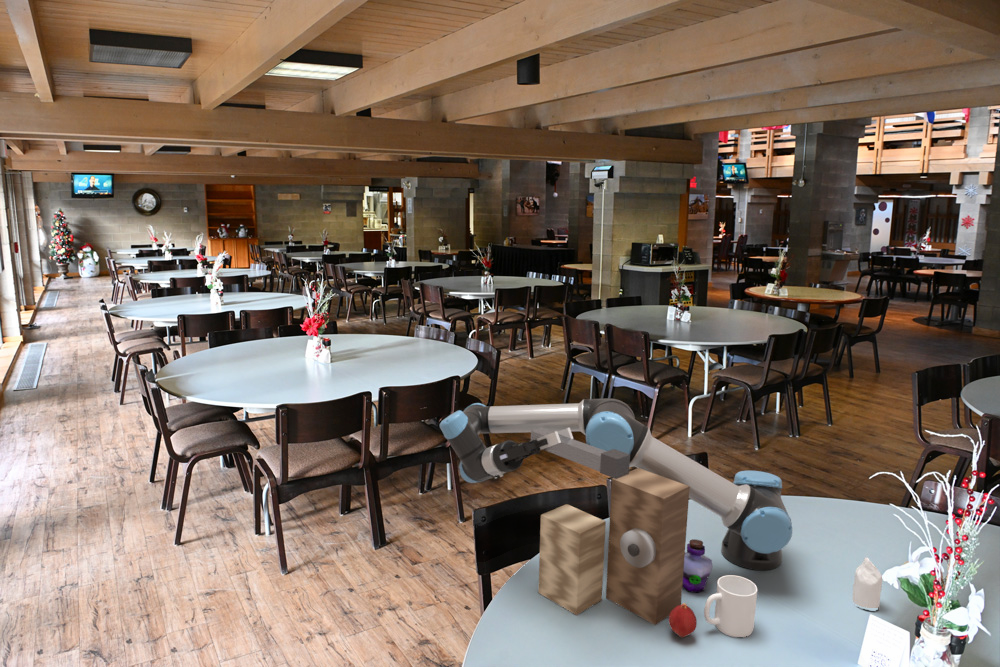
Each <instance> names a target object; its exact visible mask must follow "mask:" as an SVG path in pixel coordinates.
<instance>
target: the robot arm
mask: <svg viewBox="0 0 1000 667" xmlns="http://www.w3.org/2000/svg"><path fill="white" fill-rule="evenodd" d="M635 418H636V417H635V414H634V411H633V410H632V409H631V407H630V406H629V404H627V403H625V402H623V401H622V400H619V399H616V398H589V399H588V398H587V399H585V398H583V399H582V400H581V401H580V402H579V403H558V404H557V403H554V404H553V403H552V404H551V403H550V404H547V403H546V404H529V405H528V404H523V405H522V404H521V405H519V404H518V405H500V406H499V405H495V406H491V405H490V406H489V405H488V406H487V405H485V404H483V403H480V402H475V403H472V404H470V405H468V406H467V407H466V408H464V410H463V411H462V410H460V409H459V410H456V411H455V412H453V413H451V414H449V415H448V416H447V417H445V418H444V419H443V420H441V422H440V423H439V429H440V430H441V431H442V434H443V437H444V438H445V439H446V440H447V442H448V443H449V445H450V446H451V448H452V449H453V451H454V452H455V454H456V456H458V458H459V460H460V462H459V465H458V468H459V474H460V476H461V478H462V479H463V480H464V481H465V482H467V483H469V484H476V483H482V482H485V481H487V480H490V479H492V478H495V477H498V476H499V477H500V478H502V477H504V474H506V473H510V472H513V471H515V470H518V469H519V468H521V466H522V464H523V462H524V460H526V459H528V458H530V457H531V456H533V455H537V454H540V453H541V451H542V450H543V449H545V448H547V447H550V446H553V445H556V444H558V443H561V441H560V438H559V435H558V434H560V435H563V436H565V437H568V438H571V439H574V436H573V433H572V432H581V433H582V434H583V435H584V436H585V442H586V443H585V444H588V445H591V446H593V447H596V448H599V449H602V450H605V451H609V450H612V449H616V450H618V451H621V452H624V453H627V454H630V465H629V469H630V468H633V467H634V468H636V469H637V468H640V469H643V470H645V471H648V472H651V473H654V474H657V475H659V476H662V477H665V478H668V479H671V480H673V481H676V482H679V483H682V484H685V485H687V486H690V490H689V500H691V501H693V502H695V503H696V504H698V505H700V506H702V507H703V508H705V509H707V510H709V511H710V512H712V513H714V514H715V515H717V516H719V517H720V518H721V521H722V524H723V526H724V527H725V528H727V531H726V532H725V535H724V537H723V539H722V542H721V548H720V549H721V550H720V551H721V555H722V556H723V557H724V558H725V559H726V560H728V561H729V562H730V563H732V564H733V565H736V566H739V567H742V568H745V569H748V570H749V569H750V570H754V571H755V570H756V571H769V570H773V569H776V568H778V567H779V566H780V565H781V564H782V558H783V551H782V550H783V549H784V548H785V547H786V546H787V545H788V544H789V542H790V541H791V539H792V536H793V524H792V523H793V522H792V519H791V516H790V515H789V513H788V511H787V509H786V506H785V504H784V502H783V499H782V489H783V481H782V479H781V478H780V477H779V476H777V475H775V474H773V473H770V472H766V471H760V470H759V471H758V470H741V471H738V472H737V473H735V475H734V479H733V482H732V481H730V480H728V479H726V478H724V477H723V476H721V475H719V474H718V473H715V472H714V471H712V470H711V469H709V468H707V467H706V466H704V465H702V464H700V463H699V462H697V461H696V460H693V459H692V458H690V457H689V456H687V455H685V454H684V453H682V452H679V451H678V450H676V448H675V449H674V448H672V447H671V446H670V445H667V444H666V443H664V442H662V441H661V440H659V439H657V438H655V437H654V436H652V433H651V430H650V429H651V428H650V427H649V426H647V425H645V424H643V423H641V422H640V421H638V420H636V419H635ZM539 428H543V429H546V430H549V431H551V432H553V433H551V434H548V435H545V436H543V437H540V438H538V439H537V442H536V440H532V441H531V440H529V441H526V442H520V443H517V442H515V441H513V440H510V439H509V440H505V441H501V442H500V443H497V444H495V445H491V446H489V447H487V446H486V445H485V444H484V442H483V440H482V439H481V437H480V436H479V435H481V434H505V433H507V434H509V433H510V434H513V433H515V434H517V433H531V431H532V430H536V429H539ZM539 447H540V448H539ZM543 451H544V450H543Z"/></svg>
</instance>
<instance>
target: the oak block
mask: <svg viewBox="0 0 1000 667" xmlns="http://www.w3.org/2000/svg"><path fill="white" fill-rule="evenodd" d="M606 522H607V521H606V520H603V519H602V518H599V517H597V516H594V515H592V514H590V513H588V512H586V511H583V510H581V509H579V508H577V507H574V506H572V505H570V504H567V503H566V504H563V505H561V506H559V507H555V509H552V510H549V511H547V512H544V513H542V514H540V525H539V526H540V527H539V528H540V530H539V535H540V536H539V564H538V565H539V566H538V570H539V571H538V594H540V595H542V596H544V597H545V598H547V599H549V600H550V601H551V602H553V603H555V604H557V605H558V606H560V607H562V608H563V607H564V608H563V609H565V608H566V609H565V610H567V611H568V610H569V611H568V612H570V613H572V614H573V613H574V615H575V616H577V615H579V614H581V613H583V612H585V611H586V610H588V609H589V607H590V608H592V607H593V606H595V605H596V604H598V603H599V601H600V602H601V601H603V600H602V599H603V584H604V581H603V580H604V563H605V562H604V561H605V545H606V544H605V543H606V542H605V541H606V540H605V539H606ZM594 604H595V605H594ZM592 605H593V606H592ZM584 610H585V611H584Z"/></svg>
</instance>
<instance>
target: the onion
mask: <svg viewBox="0 0 1000 667" xmlns="http://www.w3.org/2000/svg"><path fill="white" fill-rule="evenodd" d="M668 624H669V626H670V628H671V630H672V631H673V632H674V633H675V634H677V635H678V637H680V638H685V637H687V636H689V635H691V634H693V632H694V631H695V630H696V628H697V617H696V614H695V612H694V611H693V610H692V609H691V608H690V607H689V606H688V605H687V603H685V602H682V603H681V605H678V606H676V607H675V608H674V609H673V610H672V611H671V612H670V615H669V616H668Z"/></svg>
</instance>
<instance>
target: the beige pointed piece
mask: <svg viewBox="0 0 1000 667" xmlns="http://www.w3.org/2000/svg"><path fill="white" fill-rule="evenodd" d="M854 573H855V574H854V580H853V585H852V599H851V601H852V600H853V602H854V603H855V604H857V605H859V606H861V607H865V608H866V607H867V608H878V607H879V608H880V603H881V602H880V601H881V593H882V587H883V576H882V574H881V572H880V571H879V569H878V568H877V567H876V566H875V564H873V562H872V561H871V560H870V559H869V557H865V558H863V561H862V563H861V564H860V565H859V566H857V568H856V569H855V572H854ZM853 602H852V603H853Z"/></svg>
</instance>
